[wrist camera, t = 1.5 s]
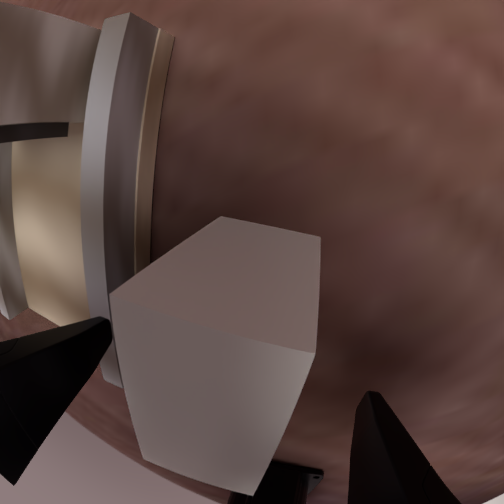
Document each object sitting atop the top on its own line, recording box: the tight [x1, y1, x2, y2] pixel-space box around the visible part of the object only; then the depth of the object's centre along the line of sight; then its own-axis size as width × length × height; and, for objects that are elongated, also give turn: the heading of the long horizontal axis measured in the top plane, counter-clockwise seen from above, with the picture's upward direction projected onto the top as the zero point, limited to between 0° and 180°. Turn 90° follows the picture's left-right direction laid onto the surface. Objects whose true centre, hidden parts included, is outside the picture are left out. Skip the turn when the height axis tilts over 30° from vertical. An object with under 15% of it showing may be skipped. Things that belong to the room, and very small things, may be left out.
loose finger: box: [109, 216, 321, 496], centre depth 9 cm, size 5×7×7 cm, turn 171°
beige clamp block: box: [0, 2, 175, 389], centre depth 9 cm, size 16×12×8 cm
